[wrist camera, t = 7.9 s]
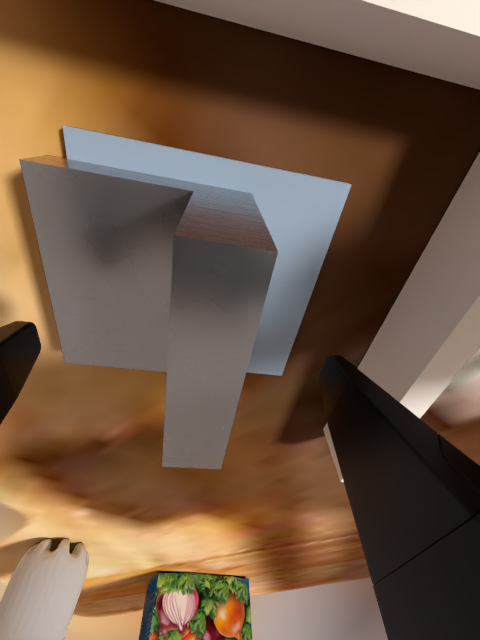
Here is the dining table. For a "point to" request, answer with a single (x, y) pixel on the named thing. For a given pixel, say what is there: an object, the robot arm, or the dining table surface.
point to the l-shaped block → (463, 212)
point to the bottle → (43, 592)
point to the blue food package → (196, 608)
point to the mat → (276, 209)
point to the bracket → (156, 286)
